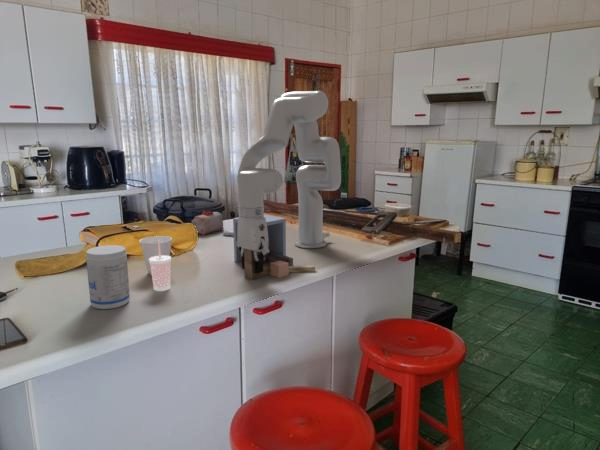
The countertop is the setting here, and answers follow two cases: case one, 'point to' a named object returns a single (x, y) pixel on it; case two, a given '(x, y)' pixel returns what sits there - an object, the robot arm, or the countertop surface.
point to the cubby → (275, 236)
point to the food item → (208, 222)
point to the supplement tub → (108, 276)
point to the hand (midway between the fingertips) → (252, 269)
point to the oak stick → (301, 268)
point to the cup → (155, 248)
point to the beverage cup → (160, 271)
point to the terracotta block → (279, 269)
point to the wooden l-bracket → (271, 257)
